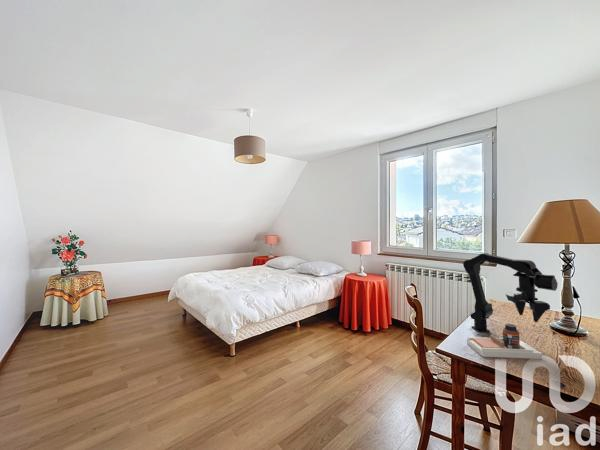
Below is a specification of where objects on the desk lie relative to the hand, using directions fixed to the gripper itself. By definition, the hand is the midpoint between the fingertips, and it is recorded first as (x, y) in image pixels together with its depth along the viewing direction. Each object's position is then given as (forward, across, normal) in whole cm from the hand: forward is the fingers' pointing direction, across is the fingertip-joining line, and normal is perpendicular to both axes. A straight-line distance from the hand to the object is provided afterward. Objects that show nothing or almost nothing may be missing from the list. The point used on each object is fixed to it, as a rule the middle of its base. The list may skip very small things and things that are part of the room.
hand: (528, 318), depth 121 cm
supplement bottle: (+13, +6, -12) cm, 18 cm away
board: (+13, +6, -16) cm, 22 cm away
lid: (+10, +6, -21) cm, 25 cm away
